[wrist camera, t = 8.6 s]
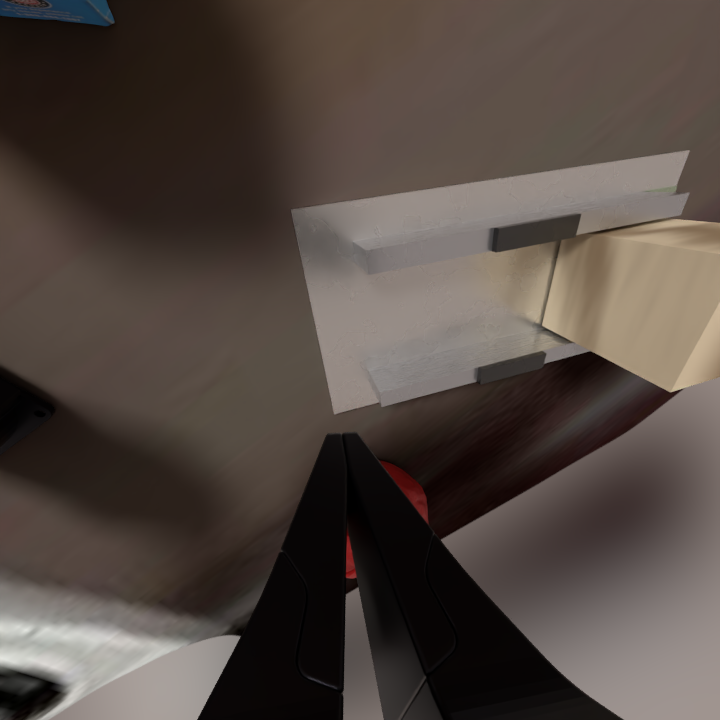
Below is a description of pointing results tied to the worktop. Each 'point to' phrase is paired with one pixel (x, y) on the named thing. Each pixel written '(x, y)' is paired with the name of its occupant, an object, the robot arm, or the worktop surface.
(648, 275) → the block
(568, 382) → the worktop surface
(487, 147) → the worktop surface
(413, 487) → the pomegranate
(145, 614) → the worktop surface
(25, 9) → the ink box
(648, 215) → the chute
